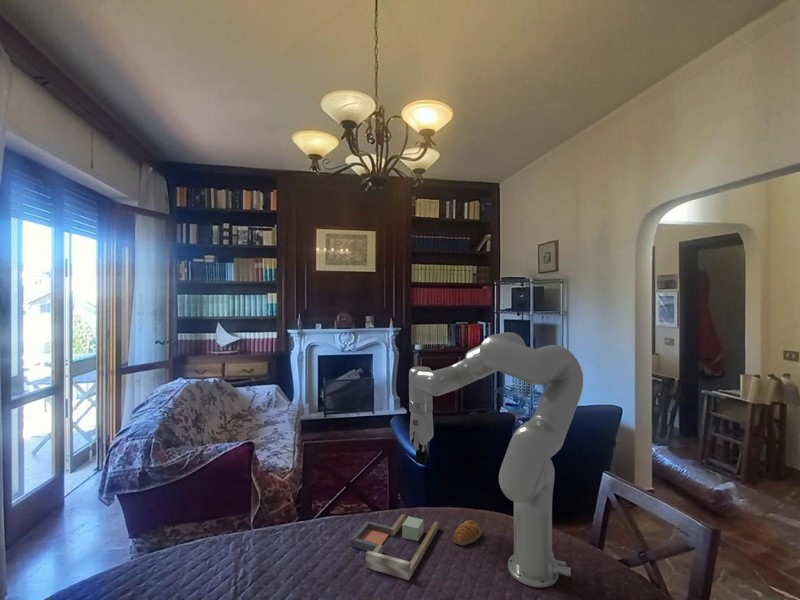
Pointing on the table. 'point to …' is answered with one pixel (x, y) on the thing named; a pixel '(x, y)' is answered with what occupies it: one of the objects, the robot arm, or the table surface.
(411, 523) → the block
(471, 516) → the table surface
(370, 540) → the tray
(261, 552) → the table surface
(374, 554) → the wooden channel walls
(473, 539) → the pastry
